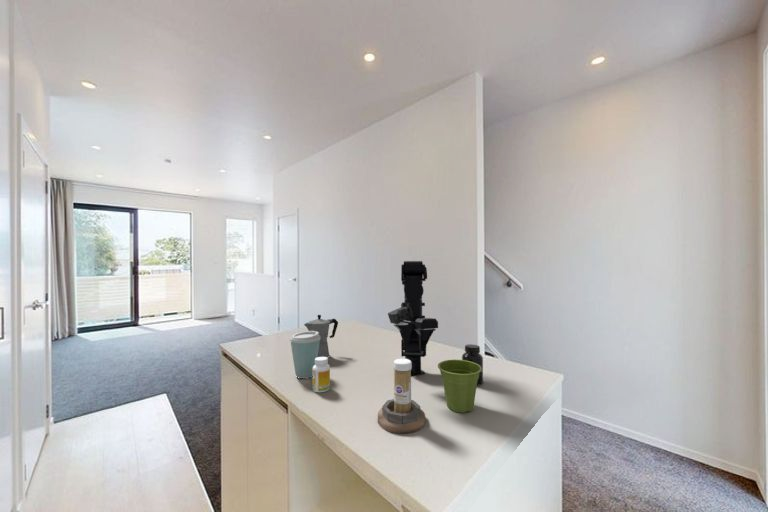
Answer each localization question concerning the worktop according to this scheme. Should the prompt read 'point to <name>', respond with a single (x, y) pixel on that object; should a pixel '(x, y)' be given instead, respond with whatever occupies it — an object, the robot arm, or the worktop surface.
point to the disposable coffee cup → (305, 352)
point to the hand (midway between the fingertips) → (413, 348)
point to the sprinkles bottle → (402, 386)
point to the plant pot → (459, 383)
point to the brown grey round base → (401, 418)
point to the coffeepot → (322, 333)
